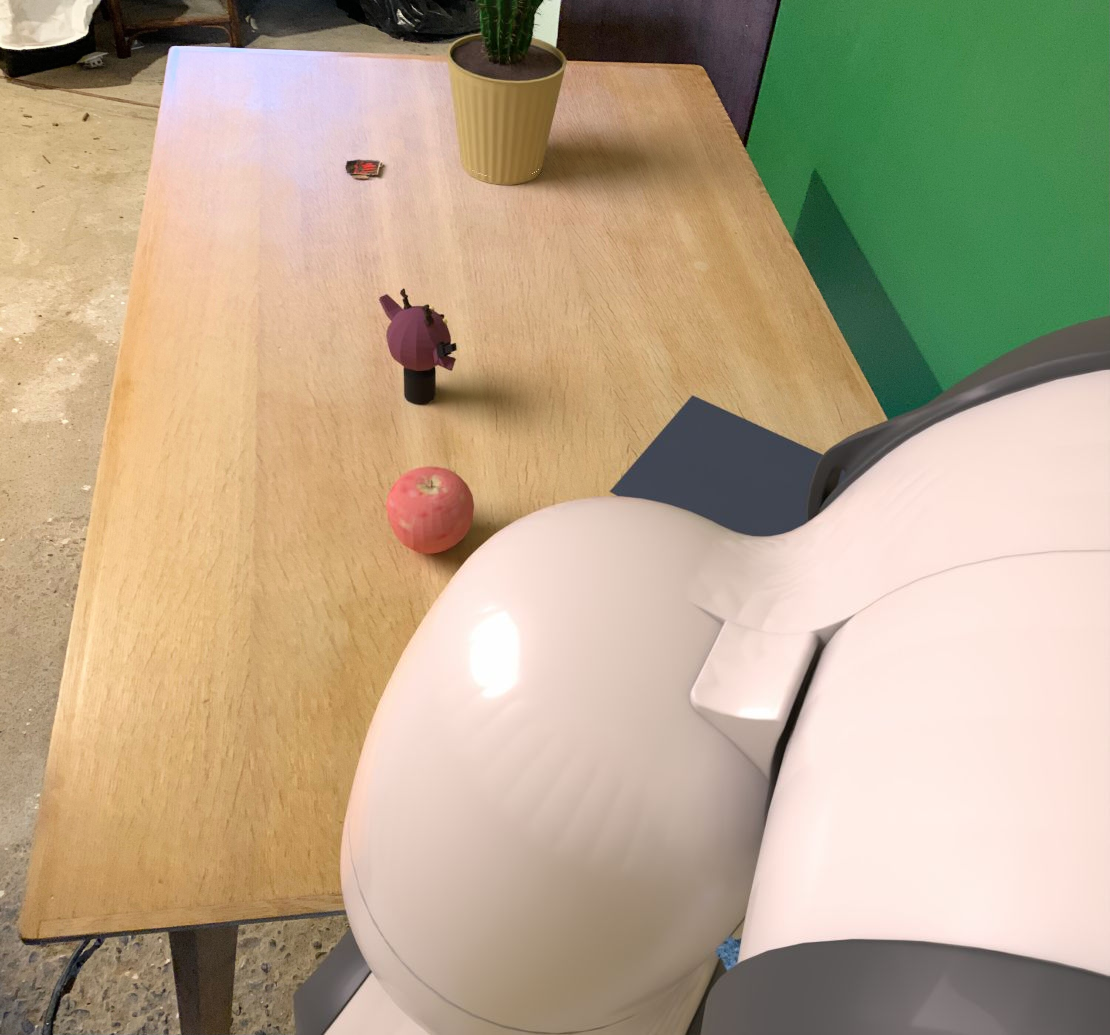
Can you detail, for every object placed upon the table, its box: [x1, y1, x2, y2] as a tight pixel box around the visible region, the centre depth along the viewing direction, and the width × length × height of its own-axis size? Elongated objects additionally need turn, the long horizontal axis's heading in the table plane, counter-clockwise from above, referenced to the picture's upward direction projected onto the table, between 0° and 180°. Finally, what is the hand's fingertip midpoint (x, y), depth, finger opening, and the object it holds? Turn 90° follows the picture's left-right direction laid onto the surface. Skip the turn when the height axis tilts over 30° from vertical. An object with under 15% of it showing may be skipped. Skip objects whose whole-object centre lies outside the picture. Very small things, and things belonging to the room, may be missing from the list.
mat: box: [609, 394, 846, 537], centre depth 94 cm, size 20×18×1 cm
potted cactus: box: [446, 0, 568, 186], centre depth 121 cm, size 15×15×30 cm
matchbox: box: [345, 158, 384, 180], centre depth 128 cm, size 5×5×1 cm
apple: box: [385, 465, 475, 555], centre depth 82 cm, size 7×7×8 cm
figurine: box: [378, 288, 458, 406], centre depth 94 cm, size 8×8×12 cm
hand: (596, 755), depth 66 cm, fingers closed
